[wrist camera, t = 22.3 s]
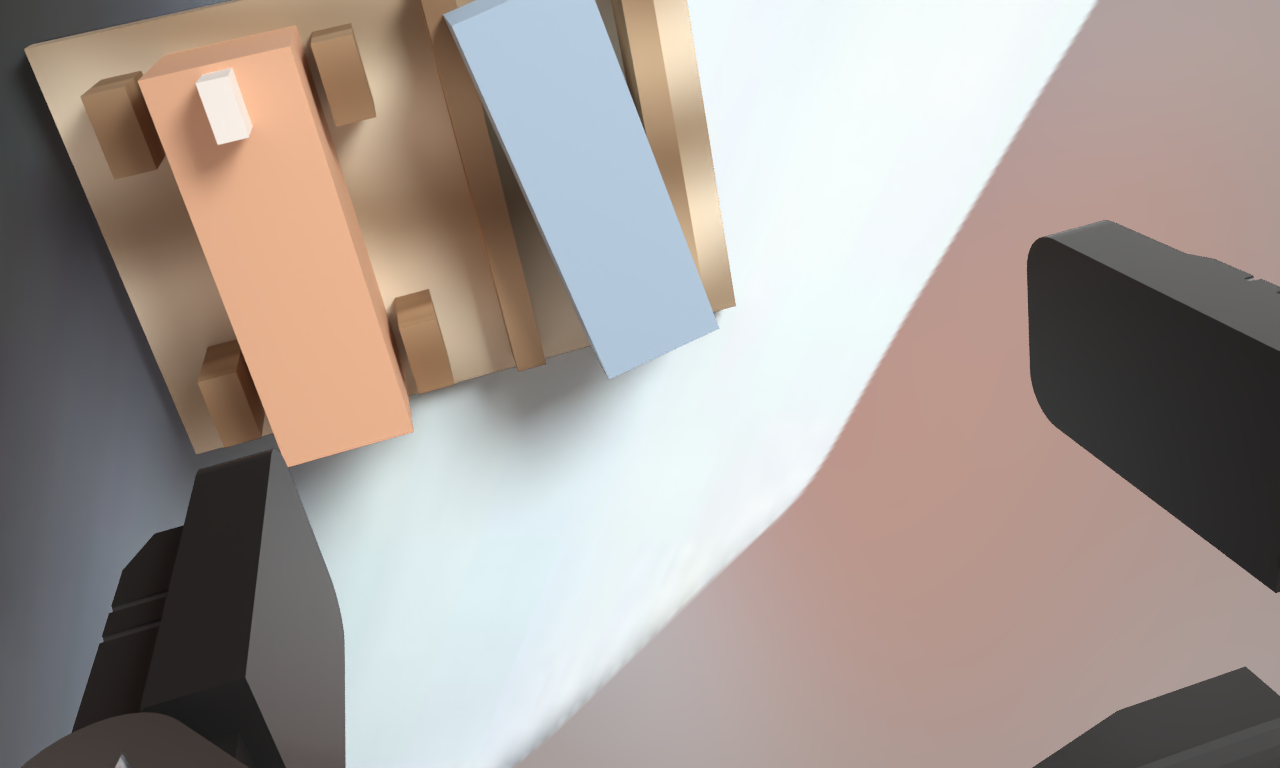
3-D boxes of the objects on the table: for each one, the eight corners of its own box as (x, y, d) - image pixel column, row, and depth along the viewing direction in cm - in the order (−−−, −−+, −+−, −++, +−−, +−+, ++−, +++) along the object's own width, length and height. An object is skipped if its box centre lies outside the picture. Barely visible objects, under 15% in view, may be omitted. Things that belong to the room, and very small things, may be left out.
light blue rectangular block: (442, 15, 33) (451, 25, 31) (563, -39, 34) (582, -32, 31) (590, 346, 39) (609, 379, 36) (693, 298, 39) (719, 328, 37)
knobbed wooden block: (164, 55, 34) (128, 90, 28) (296, 25, 34) (287, 53, 28) (292, 401, 39) (284, 491, 33) (405, 370, 39) (416, 453, 34)
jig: (32, 44, 33) (-5, 63, 30) (663, -95, 36) (699, -93, 33) (199, 441, 40) (185, 496, 36) (727, 297, 42) (762, 334, 39)
